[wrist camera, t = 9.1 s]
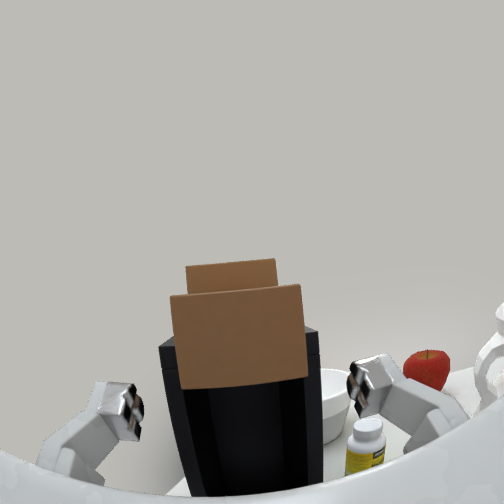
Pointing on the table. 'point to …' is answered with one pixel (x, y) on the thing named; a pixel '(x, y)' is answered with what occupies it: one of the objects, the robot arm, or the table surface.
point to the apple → (428, 368)
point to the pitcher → (494, 348)
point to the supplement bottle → (365, 446)
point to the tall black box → (248, 430)
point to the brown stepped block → (238, 326)
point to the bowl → (334, 402)
